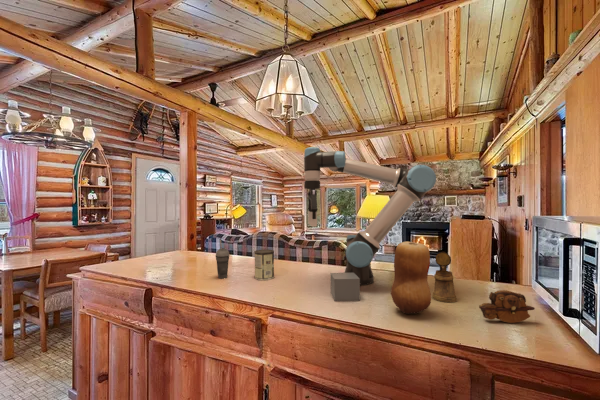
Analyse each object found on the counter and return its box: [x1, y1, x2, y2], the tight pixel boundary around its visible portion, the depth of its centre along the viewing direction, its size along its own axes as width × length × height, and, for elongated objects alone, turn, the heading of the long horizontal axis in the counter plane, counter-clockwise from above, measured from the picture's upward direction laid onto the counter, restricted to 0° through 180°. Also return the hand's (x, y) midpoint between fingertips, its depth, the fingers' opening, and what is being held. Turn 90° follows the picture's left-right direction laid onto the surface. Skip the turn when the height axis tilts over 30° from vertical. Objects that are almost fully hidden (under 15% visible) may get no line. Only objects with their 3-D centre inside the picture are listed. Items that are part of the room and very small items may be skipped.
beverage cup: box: [215, 239, 231, 280], centre depth 150 cm, size 7×7×20 cm
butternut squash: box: [390, 240, 432, 315], centre depth 102 cm, size 14×13×25 cm
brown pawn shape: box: [431, 251, 458, 303], centre depth 118 cm, size 9×14×18 cm, turn 155°
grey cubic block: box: [329, 272, 361, 302], centre depth 119 cm, size 10×10×9 cm
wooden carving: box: [478, 289, 536, 324], centre depth 93 cm, size 16×5×10 cm, turn 90°
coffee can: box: [253, 249, 275, 281], centre depth 150 cm, size 10×10×14 cm
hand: (312, 225), depth 134 cm, fingers open, 13 cm apart
